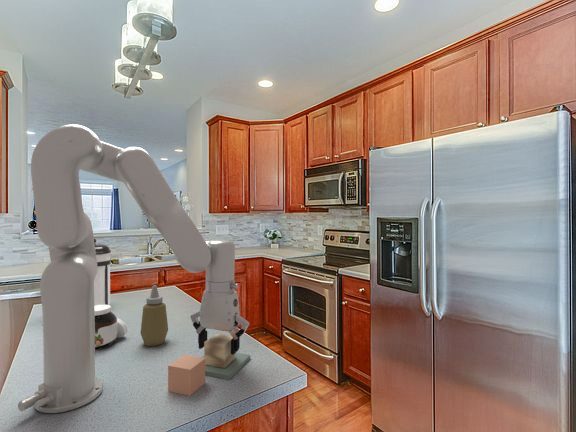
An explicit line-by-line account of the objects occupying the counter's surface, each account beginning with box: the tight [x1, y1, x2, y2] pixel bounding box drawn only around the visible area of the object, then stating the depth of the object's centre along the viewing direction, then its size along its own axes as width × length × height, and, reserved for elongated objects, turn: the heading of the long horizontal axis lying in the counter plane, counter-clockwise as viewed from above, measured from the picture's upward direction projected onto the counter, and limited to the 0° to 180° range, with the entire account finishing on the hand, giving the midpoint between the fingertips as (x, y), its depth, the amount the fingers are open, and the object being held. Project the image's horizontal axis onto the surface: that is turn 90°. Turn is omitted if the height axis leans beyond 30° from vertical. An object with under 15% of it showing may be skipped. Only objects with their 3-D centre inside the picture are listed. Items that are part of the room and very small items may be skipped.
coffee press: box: [94, 238, 116, 306], centre depth 131 cm, size 17×16×30 cm
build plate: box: [201, 352, 251, 380], centre depth 87 cm, size 12×12×1 cm
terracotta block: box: [167, 354, 206, 397], centre depth 77 cm, size 6×6×6 cm
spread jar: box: [94, 305, 128, 351], centre depth 101 cm, size 12×11×12 cm
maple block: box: [203, 333, 235, 368], centre depth 87 cm, size 6×6×6 cm
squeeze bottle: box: [140, 284, 169, 347], centre depth 101 cm, size 8×8×18 cm
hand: (218, 349), depth 87 cm, fingers open, 9 cm apart
